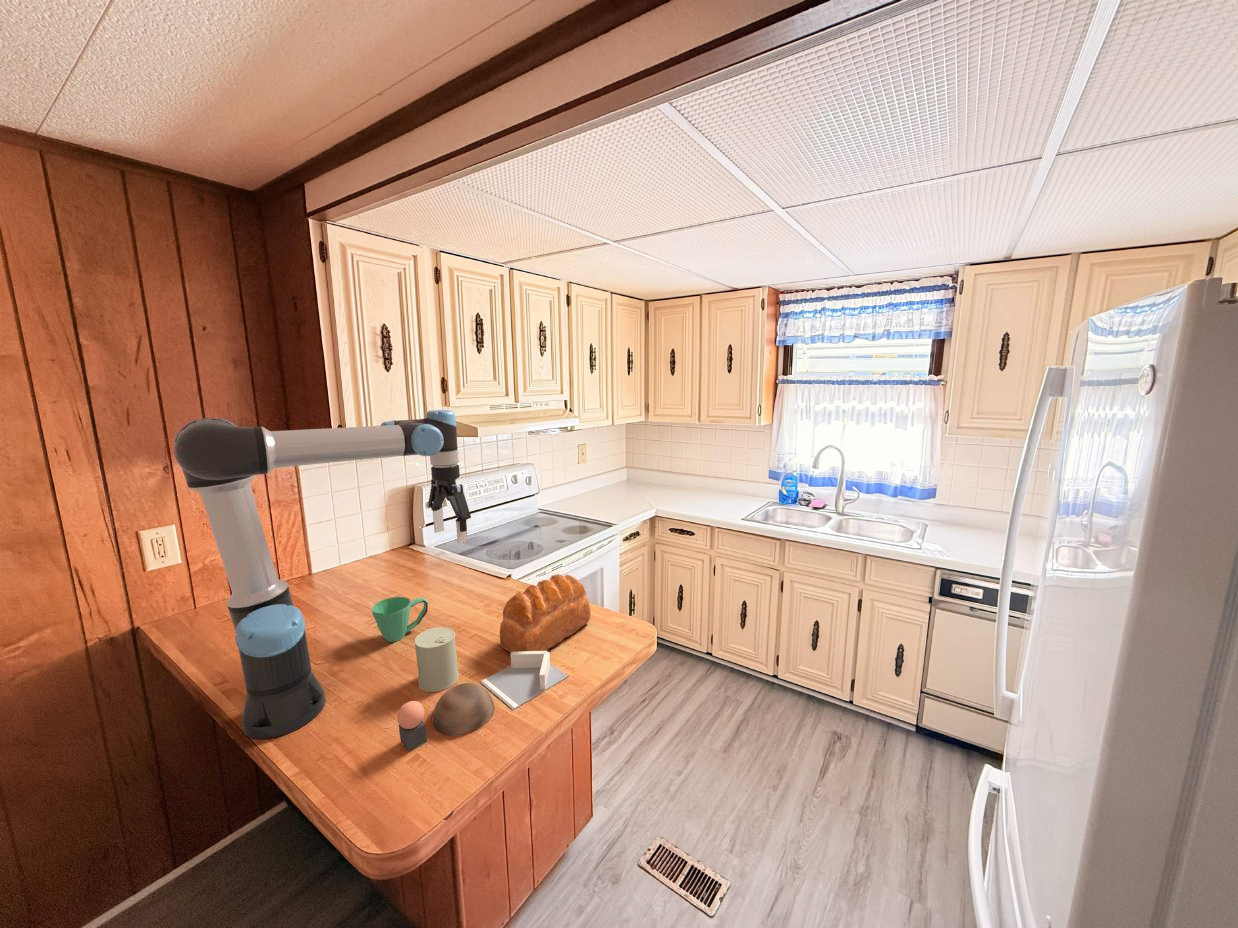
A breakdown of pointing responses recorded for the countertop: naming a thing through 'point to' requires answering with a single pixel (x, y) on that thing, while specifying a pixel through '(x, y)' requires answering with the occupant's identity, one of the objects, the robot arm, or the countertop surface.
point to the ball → (410, 715)
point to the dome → (462, 710)
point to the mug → (396, 616)
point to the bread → (544, 614)
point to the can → (436, 659)
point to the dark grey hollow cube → (413, 736)
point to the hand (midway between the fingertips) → (450, 536)
